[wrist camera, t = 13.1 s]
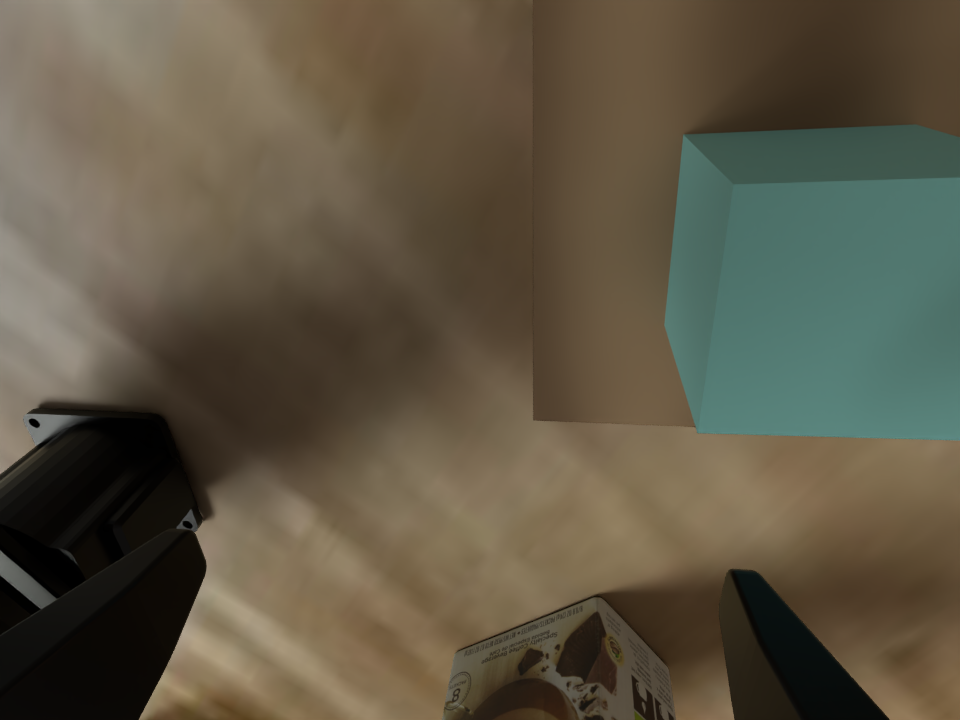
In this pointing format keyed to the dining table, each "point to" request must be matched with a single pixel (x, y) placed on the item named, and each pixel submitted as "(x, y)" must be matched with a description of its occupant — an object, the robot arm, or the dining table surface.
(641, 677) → the coffee box
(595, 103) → the walnut block
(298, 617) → the dining table surface
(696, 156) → the teal block
